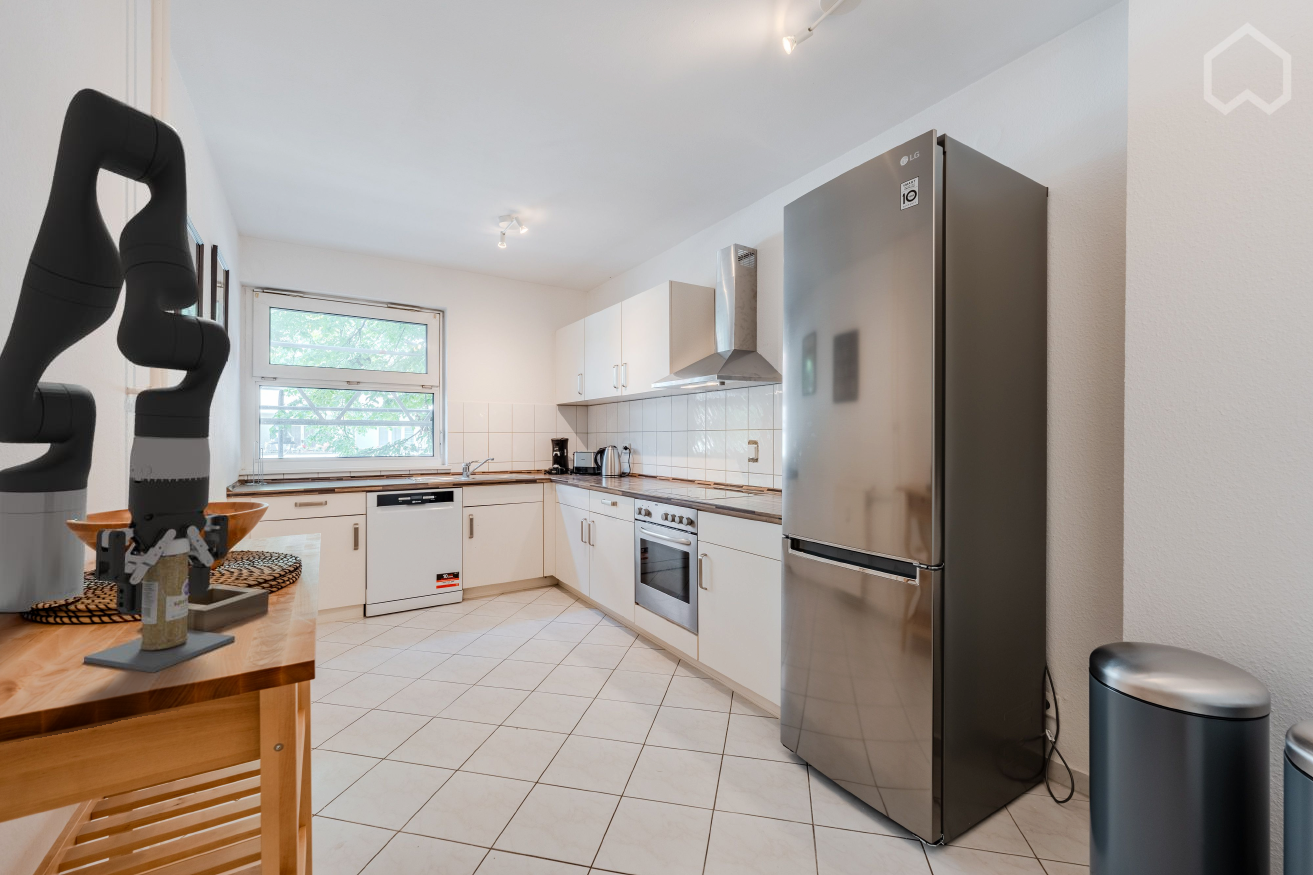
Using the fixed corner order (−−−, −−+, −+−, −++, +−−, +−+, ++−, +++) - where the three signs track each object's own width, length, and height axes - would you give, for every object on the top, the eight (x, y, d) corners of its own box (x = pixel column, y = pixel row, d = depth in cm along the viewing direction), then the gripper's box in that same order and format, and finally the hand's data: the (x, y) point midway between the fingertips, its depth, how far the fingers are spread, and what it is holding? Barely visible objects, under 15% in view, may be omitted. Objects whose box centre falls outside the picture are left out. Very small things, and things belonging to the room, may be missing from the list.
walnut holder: (144, 624, 77) (145, 602, 76) (213, 602, 86) (214, 583, 86) (204, 632, 75) (205, 610, 75) (268, 609, 85) (268, 590, 85)
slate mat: (83, 661, 65) (84, 656, 65) (172, 631, 74) (172, 627, 74) (153, 672, 63) (153, 667, 63) (234, 640, 73) (234, 635, 73)
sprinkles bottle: (189, 645, 69) (191, 538, 69) (139, 654, 66) (141, 542, 66) (187, 635, 72) (189, 533, 72) (139, 643, 69) (141, 537, 69)
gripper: (202, 468, 76) (197, 585, 76) (77, 475, 62) (71, 619, 62) (248, 471, 75) (243, 591, 75) (131, 479, 61) (125, 627, 61)
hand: (165, 603), depth 69 cm, fingers open, 7 cm apart
